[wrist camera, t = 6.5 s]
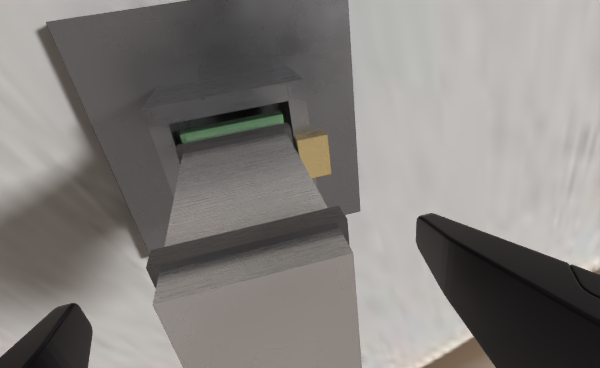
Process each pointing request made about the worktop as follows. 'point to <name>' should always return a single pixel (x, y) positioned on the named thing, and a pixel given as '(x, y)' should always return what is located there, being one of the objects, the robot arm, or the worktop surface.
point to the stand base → (213, 89)
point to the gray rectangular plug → (254, 256)
